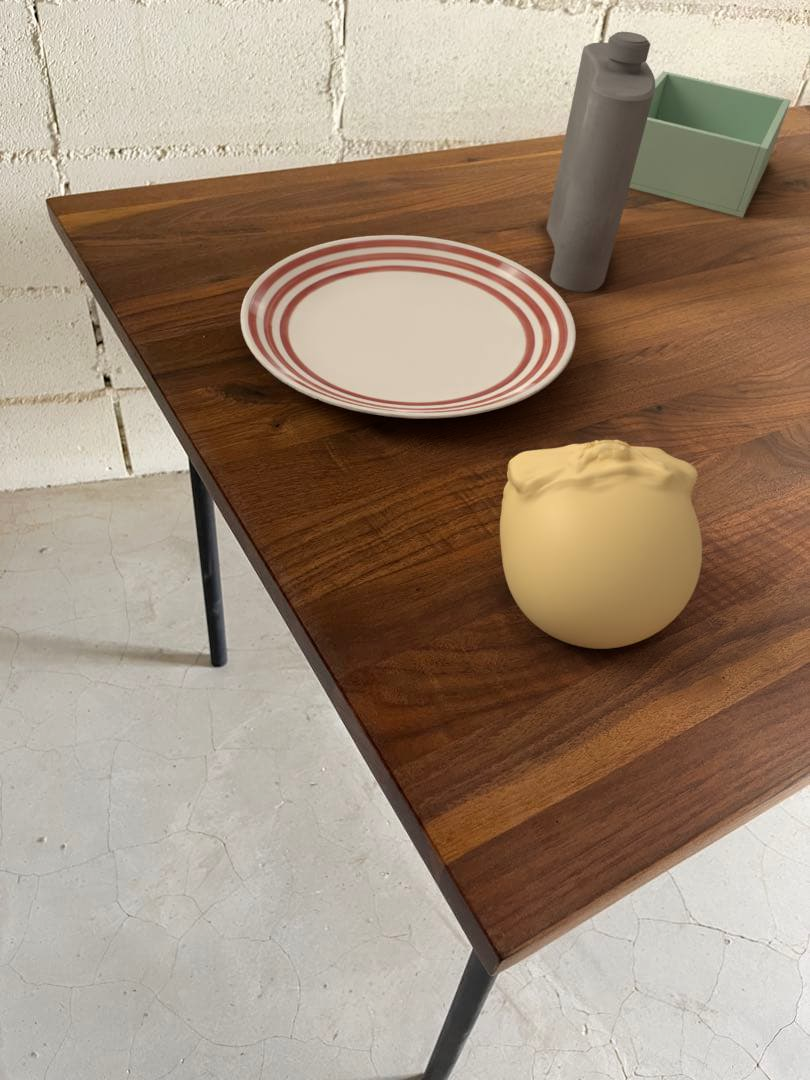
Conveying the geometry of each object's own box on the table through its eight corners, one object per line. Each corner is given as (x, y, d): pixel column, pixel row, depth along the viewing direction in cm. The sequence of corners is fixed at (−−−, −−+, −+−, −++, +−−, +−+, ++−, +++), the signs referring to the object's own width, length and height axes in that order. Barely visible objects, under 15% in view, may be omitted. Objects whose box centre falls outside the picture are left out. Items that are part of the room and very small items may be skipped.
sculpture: (635, 527, 61) (683, 399, 53) (700, 667, 53) (767, 539, 45) (473, 534, 59) (499, 402, 52) (514, 680, 51) (551, 549, 43)
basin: (766, 165, 110) (791, 99, 105) (741, 220, 98) (767, 148, 93) (645, 135, 114) (662, 70, 109) (607, 184, 102) (624, 113, 97)
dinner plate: (312, 481, 61) (313, 444, 59) (201, 289, 78) (198, 254, 76) (632, 405, 71) (643, 370, 69) (472, 248, 88) (477, 216, 86)
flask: (611, 298, 83) (674, 68, 69) (550, 291, 83) (601, 60, 69) (599, 227, 94) (651, 15, 80) (544, 220, 94) (587, 8, 80)
